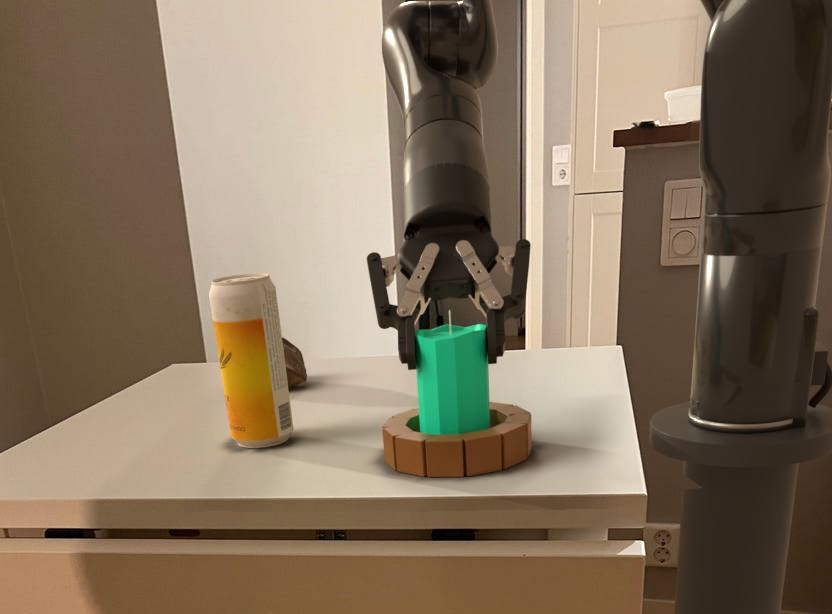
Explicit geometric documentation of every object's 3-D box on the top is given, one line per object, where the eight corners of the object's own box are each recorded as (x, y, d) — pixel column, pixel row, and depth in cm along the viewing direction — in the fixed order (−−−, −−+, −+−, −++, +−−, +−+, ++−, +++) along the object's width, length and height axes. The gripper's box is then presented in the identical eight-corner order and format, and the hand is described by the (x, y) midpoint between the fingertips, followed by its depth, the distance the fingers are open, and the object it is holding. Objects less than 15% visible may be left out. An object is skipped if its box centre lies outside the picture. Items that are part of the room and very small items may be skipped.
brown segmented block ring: (536, 432, 86) (536, 399, 85) (522, 476, 76) (521, 439, 74) (403, 435, 90) (400, 403, 88) (371, 478, 79) (368, 442, 78)
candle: (505, 453, 82) (502, 307, 76) (448, 469, 79) (440, 319, 74) (463, 439, 86) (457, 301, 81) (408, 454, 84) (398, 313, 78)
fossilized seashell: (220, 365, 116) (245, 393, 108) (242, 314, 114) (269, 339, 106) (273, 387, 120) (300, 415, 113) (295, 338, 118) (325, 364, 110)
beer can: (249, 431, 96) (226, 274, 90) (304, 432, 94) (284, 271, 87) (221, 449, 91) (194, 284, 85) (278, 450, 89) (255, 281, 82)
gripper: (357, 168, 80) (359, 341, 75) (531, 151, 78) (544, 326, 73) (367, 231, 87) (369, 393, 82) (527, 216, 85) (539, 380, 80)
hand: (452, 360), depth 78 cm, fingers closed on candle, 6 cm apart
